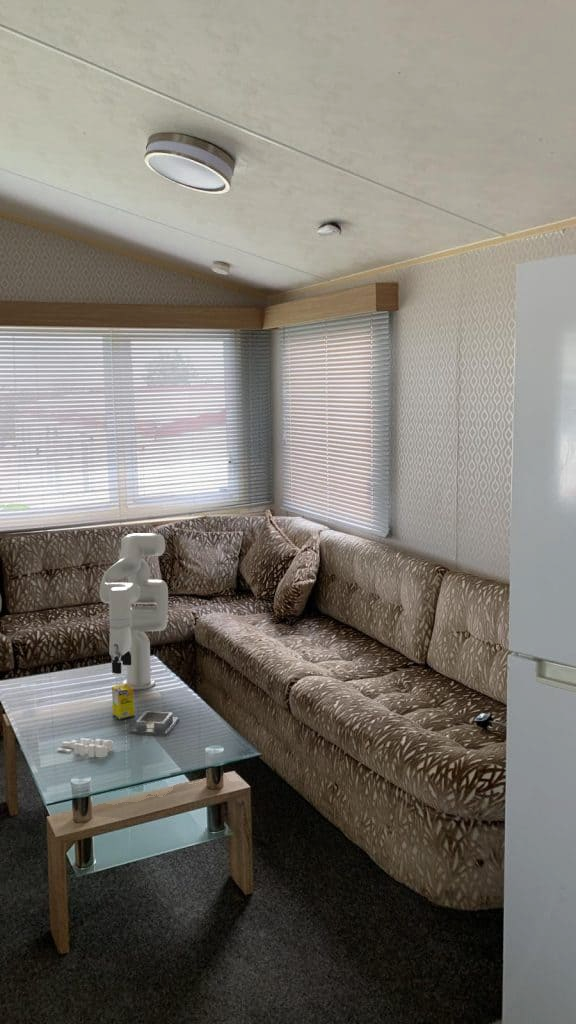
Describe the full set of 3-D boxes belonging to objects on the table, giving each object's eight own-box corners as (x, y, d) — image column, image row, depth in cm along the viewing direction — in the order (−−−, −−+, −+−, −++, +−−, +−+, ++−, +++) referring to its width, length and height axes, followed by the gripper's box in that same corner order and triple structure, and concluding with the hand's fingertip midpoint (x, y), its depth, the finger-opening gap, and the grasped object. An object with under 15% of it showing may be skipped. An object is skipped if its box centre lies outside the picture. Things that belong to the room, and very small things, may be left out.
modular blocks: (113, 750, 277) (113, 739, 277) (104, 759, 271) (103, 747, 270) (58, 744, 282) (58, 733, 281) (48, 753, 275) (47, 741, 275)
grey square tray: (143, 717, 304) (143, 708, 303) (178, 720, 301) (178, 710, 301) (129, 733, 290) (129, 723, 289) (166, 736, 288) (166, 726, 287)
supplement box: (135, 717, 304) (134, 688, 303) (119, 721, 301) (118, 691, 299) (128, 712, 309) (127, 683, 307) (112, 715, 306) (111, 686, 304)
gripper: (119, 615, 309) (120, 661, 311) (100, 628, 292) (102, 676, 294) (139, 616, 307) (140, 662, 310) (121, 629, 291) (123, 677, 293)
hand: (122, 669), depth 302 cm, fingers open, 9 cm apart
